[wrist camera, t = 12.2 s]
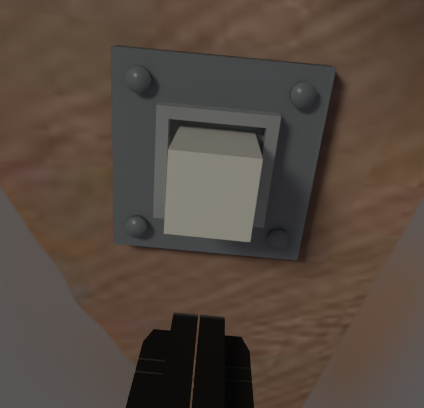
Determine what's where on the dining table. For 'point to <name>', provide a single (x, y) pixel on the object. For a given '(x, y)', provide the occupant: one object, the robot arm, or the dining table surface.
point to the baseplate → (218, 119)
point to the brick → (212, 183)
